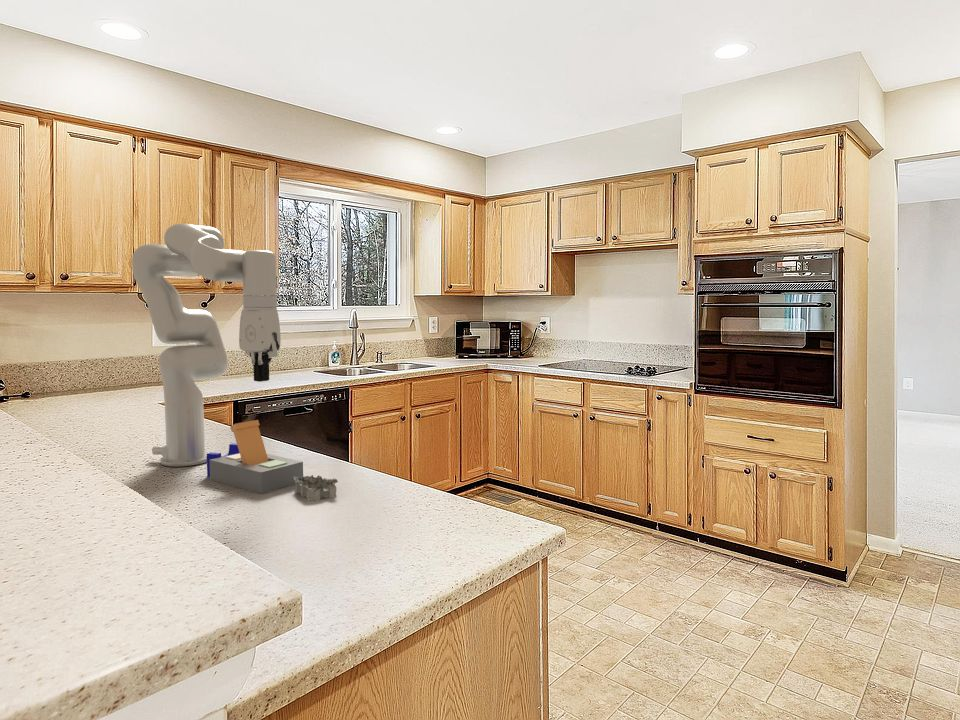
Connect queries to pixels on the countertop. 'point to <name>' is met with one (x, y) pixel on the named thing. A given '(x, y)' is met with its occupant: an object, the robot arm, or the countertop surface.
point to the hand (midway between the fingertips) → (261, 380)
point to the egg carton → (315, 487)
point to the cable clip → (232, 450)
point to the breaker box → (256, 473)
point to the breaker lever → (250, 442)
